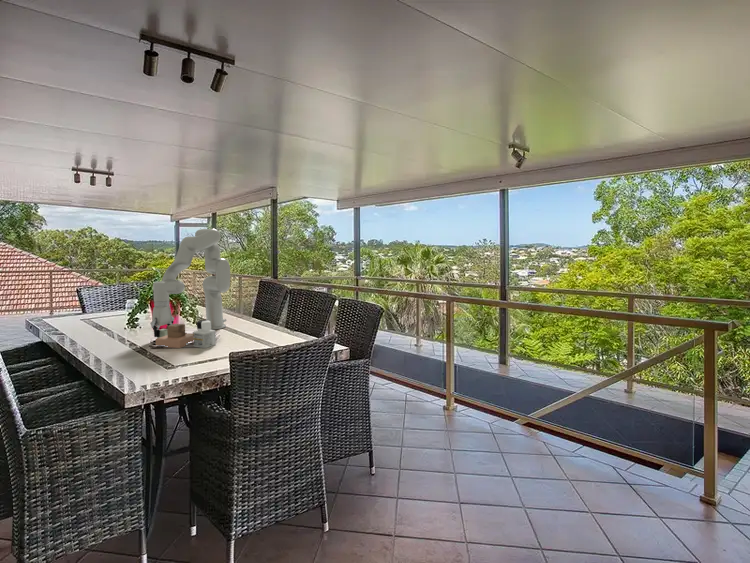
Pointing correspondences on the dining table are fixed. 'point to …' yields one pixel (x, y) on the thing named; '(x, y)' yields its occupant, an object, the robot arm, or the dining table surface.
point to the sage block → (163, 333)
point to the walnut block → (176, 330)
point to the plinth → (174, 341)
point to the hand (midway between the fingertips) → (163, 335)
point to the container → (204, 335)
